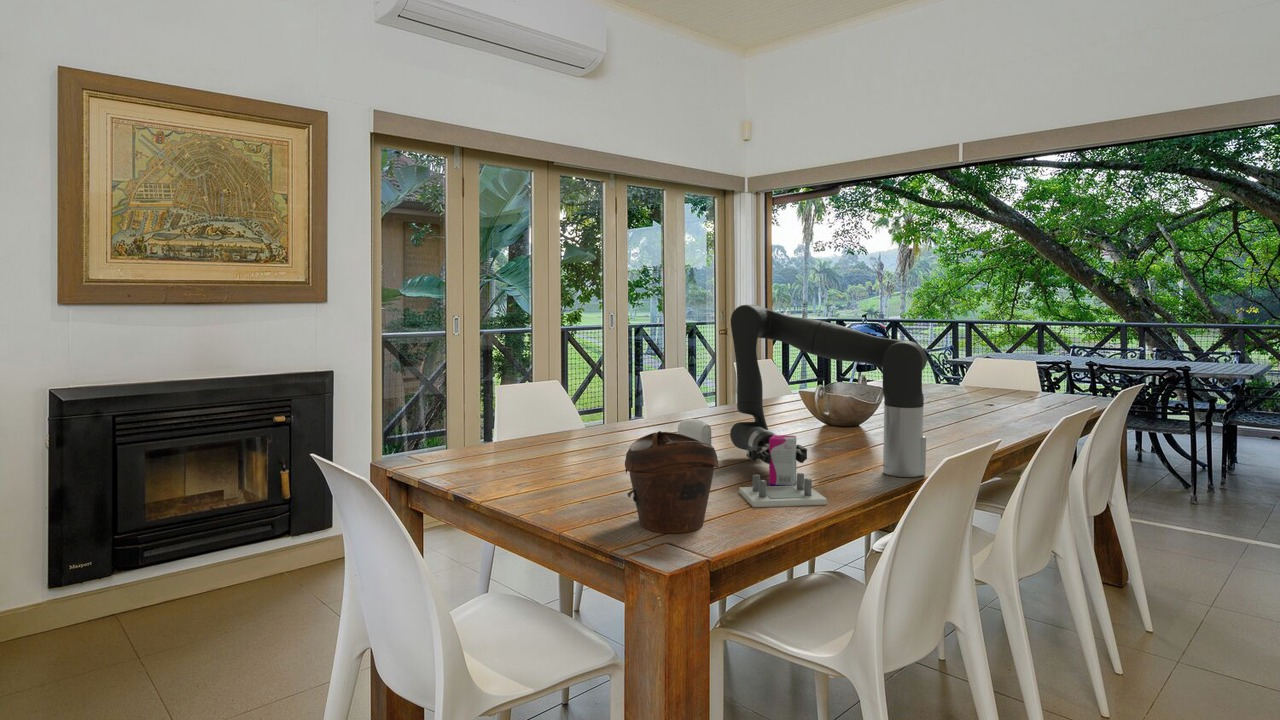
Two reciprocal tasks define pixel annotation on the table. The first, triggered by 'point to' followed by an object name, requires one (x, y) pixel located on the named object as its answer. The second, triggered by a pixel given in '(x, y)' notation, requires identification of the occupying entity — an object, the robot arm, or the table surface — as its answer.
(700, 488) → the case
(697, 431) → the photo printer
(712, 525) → the table surface
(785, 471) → the supplement box
